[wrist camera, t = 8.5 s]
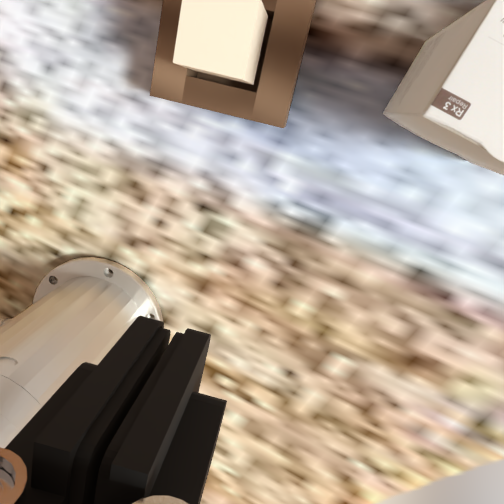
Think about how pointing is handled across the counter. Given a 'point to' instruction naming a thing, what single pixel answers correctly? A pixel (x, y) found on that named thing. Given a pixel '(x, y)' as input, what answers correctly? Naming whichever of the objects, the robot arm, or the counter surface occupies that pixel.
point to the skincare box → (459, 88)
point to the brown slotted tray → (230, 91)
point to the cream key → (221, 37)
